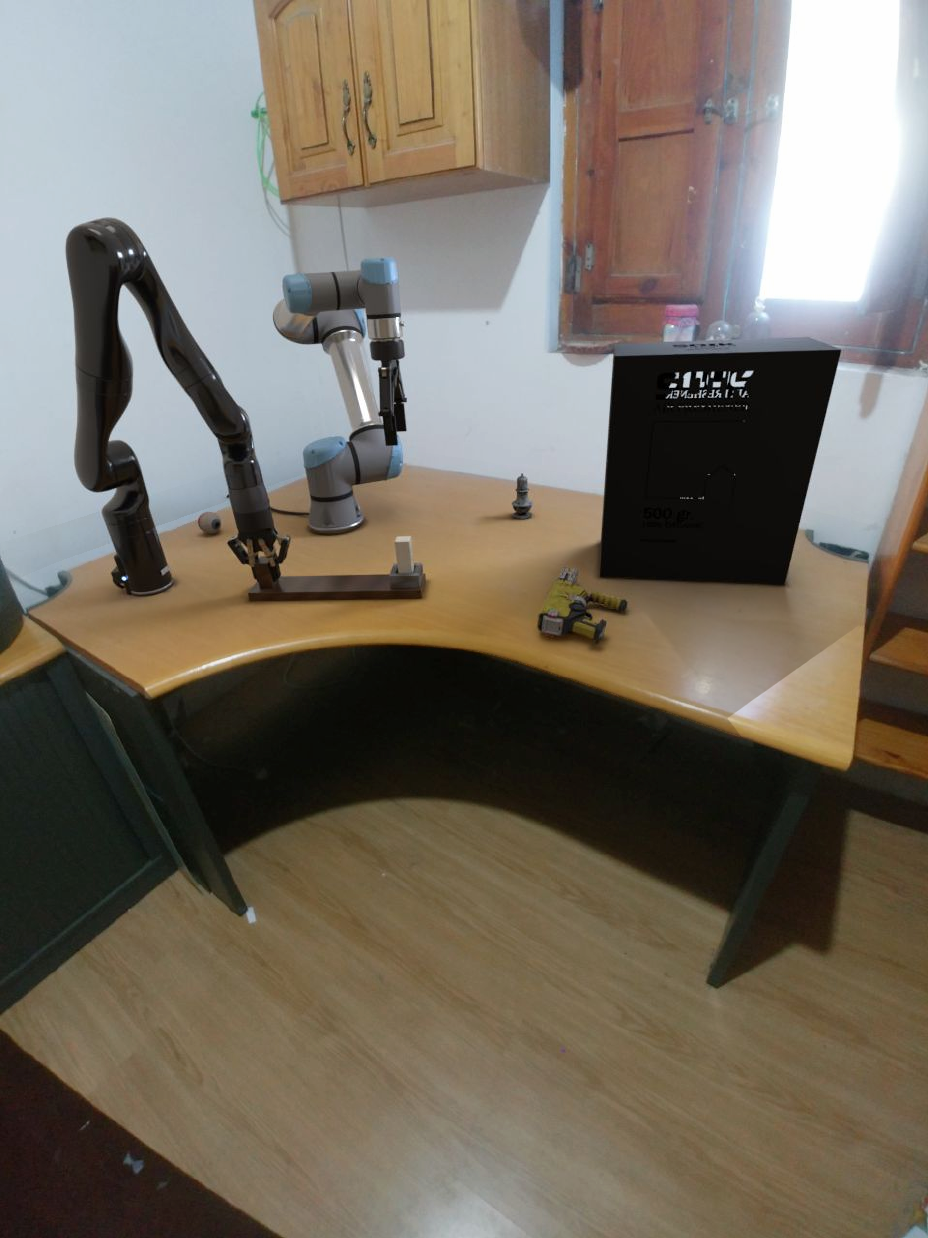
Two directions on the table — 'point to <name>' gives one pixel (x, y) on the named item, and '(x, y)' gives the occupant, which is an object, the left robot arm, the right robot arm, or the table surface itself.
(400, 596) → the peg board
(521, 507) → the salt shaker
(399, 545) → the peg
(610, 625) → the table surface
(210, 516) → the eyeball
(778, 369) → the cardboard box
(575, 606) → the toy gun
